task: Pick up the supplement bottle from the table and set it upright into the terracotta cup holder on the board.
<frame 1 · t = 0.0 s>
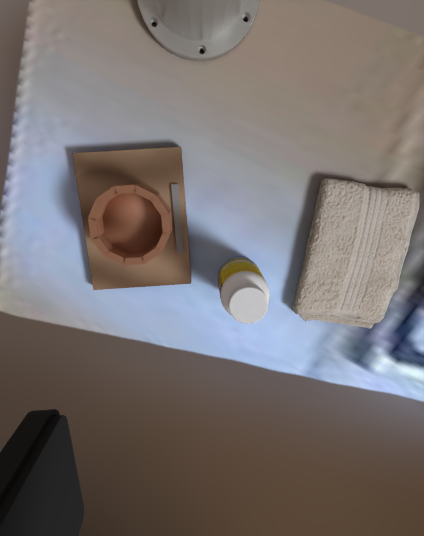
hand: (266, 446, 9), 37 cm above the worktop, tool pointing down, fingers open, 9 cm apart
washcloth: (346, 253, 46), on the worktop
supplement bottle: (238, 276, 46), on the worktop
cup station: (136, 220, 44), on the worktop
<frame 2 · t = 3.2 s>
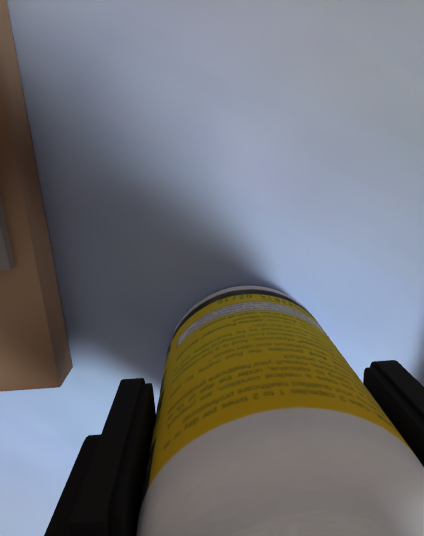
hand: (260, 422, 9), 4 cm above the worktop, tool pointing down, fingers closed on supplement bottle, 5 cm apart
supplement bottle: (243, 352, 13), on the worktop, touching gripper
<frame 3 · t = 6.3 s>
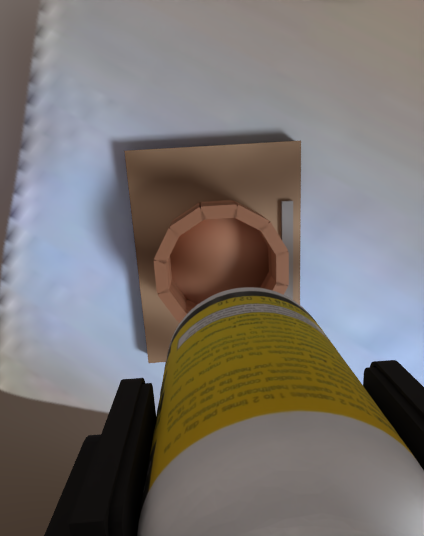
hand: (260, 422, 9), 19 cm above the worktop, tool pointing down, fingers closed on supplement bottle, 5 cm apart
supplement bottle: (243, 353, 13), point 15 cm above the worktop, touching gripper
cup station: (218, 256, 28), on the worktop
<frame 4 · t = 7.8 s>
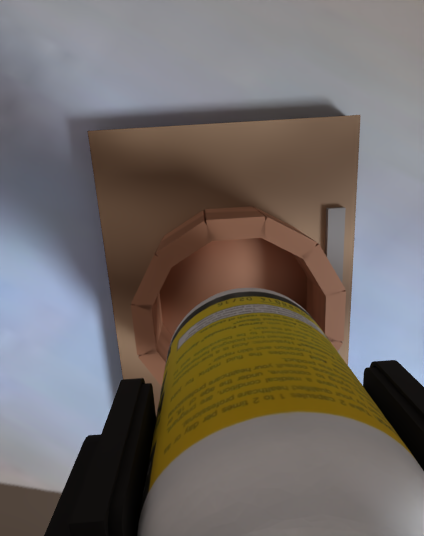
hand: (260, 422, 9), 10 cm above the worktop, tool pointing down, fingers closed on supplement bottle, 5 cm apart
supplement bottle: (243, 354, 13), point 7 cm above the worktop, touching gripper
cup station: (230, 286, 19), on the worktop
when the fingers open (6 cm above the worktop, at t = 9.4 s): supplement bottle stays where it is, resting on cup station.
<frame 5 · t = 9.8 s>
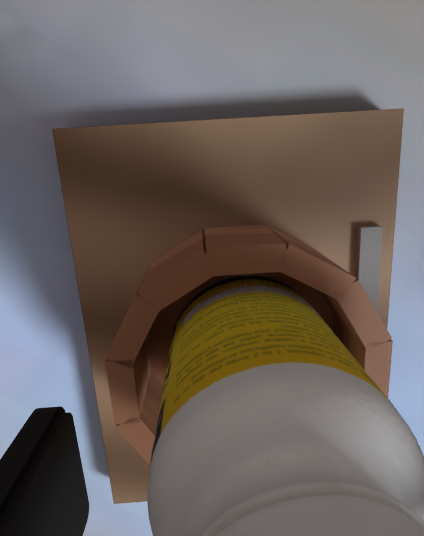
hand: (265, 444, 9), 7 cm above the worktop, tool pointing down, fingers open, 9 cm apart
supplement bottle: (243, 337, 14), point 2 cm above the worktop, touching cup station
cup station: (235, 321, 16), on the worktop
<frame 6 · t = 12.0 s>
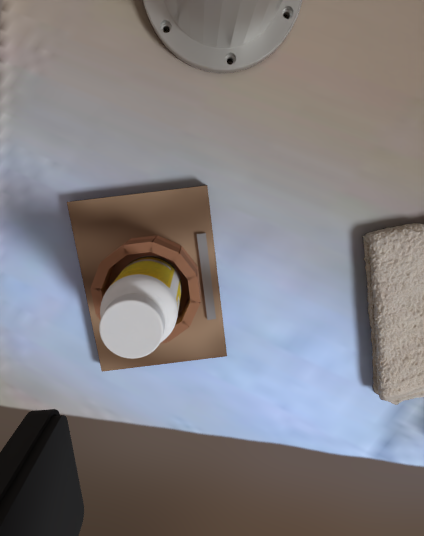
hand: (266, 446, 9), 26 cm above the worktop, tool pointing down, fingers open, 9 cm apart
washcloth: (420, 306, 36), on the worktop
supplement bottle: (151, 283, 32), point 2 cm above the worktop, touching cup station
cup station: (153, 280, 34), on the worktop
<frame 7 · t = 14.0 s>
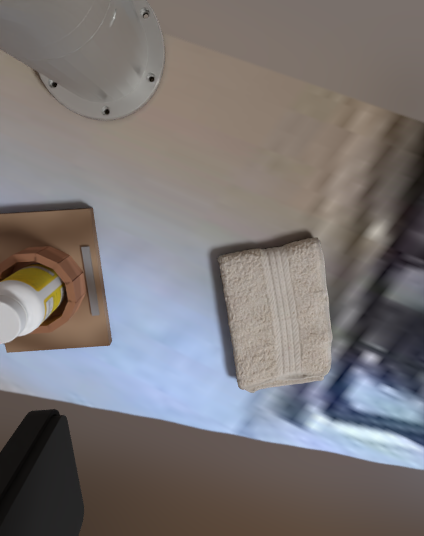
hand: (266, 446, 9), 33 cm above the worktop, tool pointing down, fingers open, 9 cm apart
washcloth: (274, 313, 45), on the worktop
supplement bottle: (44, 284, 40), point 2 cm above the worktop, touching cup station
cup station: (50, 281, 42), on the worktop
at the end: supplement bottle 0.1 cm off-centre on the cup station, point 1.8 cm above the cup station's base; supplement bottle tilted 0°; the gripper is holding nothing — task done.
